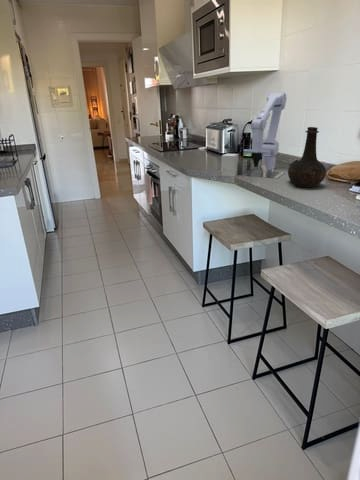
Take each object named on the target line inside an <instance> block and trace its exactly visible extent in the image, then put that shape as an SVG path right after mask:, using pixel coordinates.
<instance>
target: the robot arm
mask: <svg viewBox="0 0 360 480" xmlns="http://www.w3.org/2000/svg"><path fill="white" fill-rule="evenodd" d="M286 103H287V94H286V92H269V93H268V94H267V96H266V103H265V106H264V107H263V109H261V110H260V111H259V113H258V114H257V117H256V118H254V119H252V121H251V124H250V128H251V133H252V139H251V142H252V143H251V149H250V148H249V149H247V148H246V149H243V154H250V157H251V160H252V161H253V166H254V168H258V166H259V162H260V160H261V165H262V164H265V167H266V170H267V171H270V168H271V167H274V169H275V168H276V156H277V154H278V153H279V150H280V149H279V148H280V147H279V146H280V145H279V143H280V142H279V141H277V139H276V137H277V133H278V128H279V124H280V119H281V115H282V111H283V110H285V107H286ZM271 111H272V113H271ZM270 116H271V118H270V121H269V126H268V131H267V136H266V138H265V139H264V131H265V129H266V127H267V121H268V119H269V117H270ZM261 158H262V159H261Z"/></svg>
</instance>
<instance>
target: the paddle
mask: <svg viewBox="0 0 360 480" xmlns="http://www.w3.org/2000/svg"><path fill="white" fill-rule="evenodd" d="M260 167H261V171H263V172H264V171H268V170H266V167H265V164H262V163H261V164H260Z"/></svg>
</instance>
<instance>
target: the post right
mask: <svg viewBox="0 0 360 480" xmlns="http://www.w3.org/2000/svg"><path fill="white" fill-rule="evenodd" d="M251 167H252V157H251V158H250V157H248V158H246V169H245V170H246V171H251V169H252V168H251Z"/></svg>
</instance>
